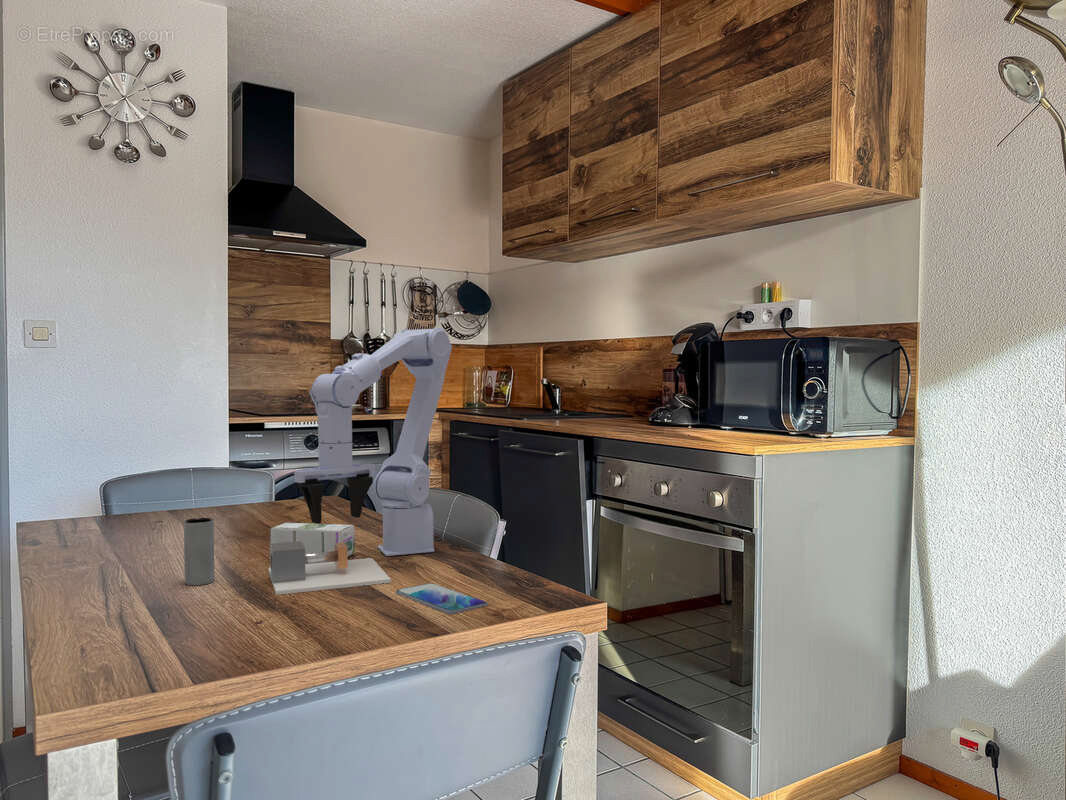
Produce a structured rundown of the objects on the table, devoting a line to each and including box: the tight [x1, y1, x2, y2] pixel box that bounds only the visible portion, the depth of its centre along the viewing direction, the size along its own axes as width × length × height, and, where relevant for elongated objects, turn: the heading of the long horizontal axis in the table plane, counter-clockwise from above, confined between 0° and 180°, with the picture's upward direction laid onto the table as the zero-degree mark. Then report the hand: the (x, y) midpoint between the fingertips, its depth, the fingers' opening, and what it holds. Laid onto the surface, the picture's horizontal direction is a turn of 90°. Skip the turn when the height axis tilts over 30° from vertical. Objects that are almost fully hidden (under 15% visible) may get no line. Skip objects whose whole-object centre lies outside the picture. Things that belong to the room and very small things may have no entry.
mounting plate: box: [268, 557, 392, 596], centre depth 131 cm, size 18×16×1 cm
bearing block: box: [269, 541, 305, 583], centre depth 129 cm, size 5×6×5 cm
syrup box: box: [269, 522, 356, 557], centre depth 146 cm, size 6×6×14 cm
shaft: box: [305, 542, 349, 569], centre depth 130 cm, size 10×4×4 cm, turn 113°
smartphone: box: [395, 582, 488, 615], centre depth 118 cm, size 7×1×15 cm
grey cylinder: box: [183, 517, 215, 586], centre depth 128 cm, size 4×4×10 cm
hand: (336, 519), depth 136 cm, fingers open, 7 cm apart
